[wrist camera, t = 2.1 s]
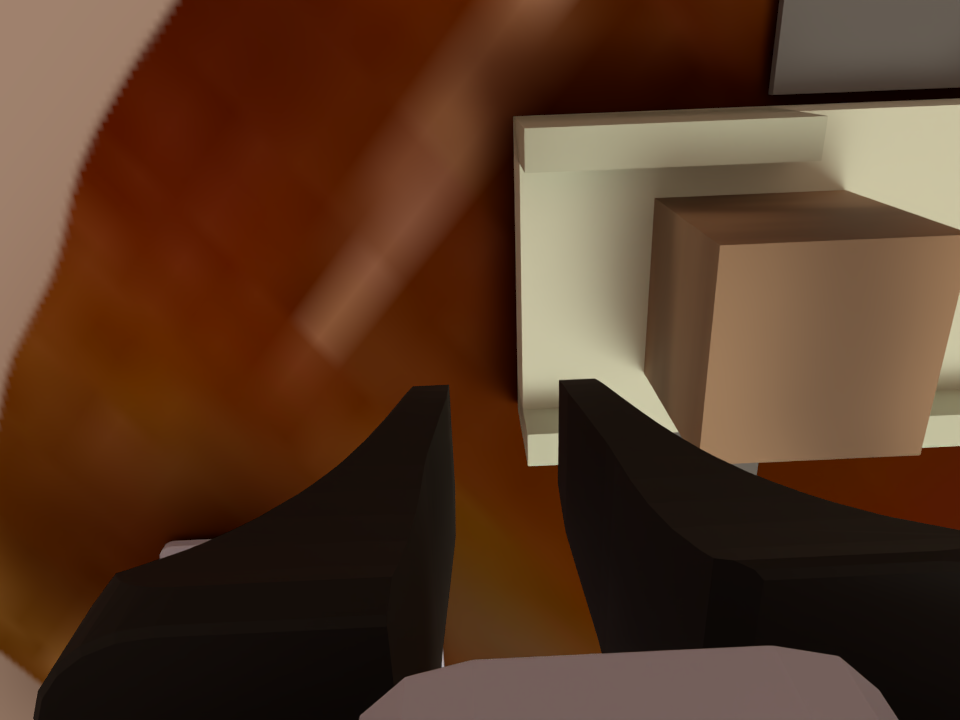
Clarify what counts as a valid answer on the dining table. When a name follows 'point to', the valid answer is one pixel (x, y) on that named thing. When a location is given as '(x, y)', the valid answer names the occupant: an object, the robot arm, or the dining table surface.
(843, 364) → the walnut block
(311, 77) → the dining table surface
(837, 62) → the mats
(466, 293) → the dining table surface
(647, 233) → the trap lane
